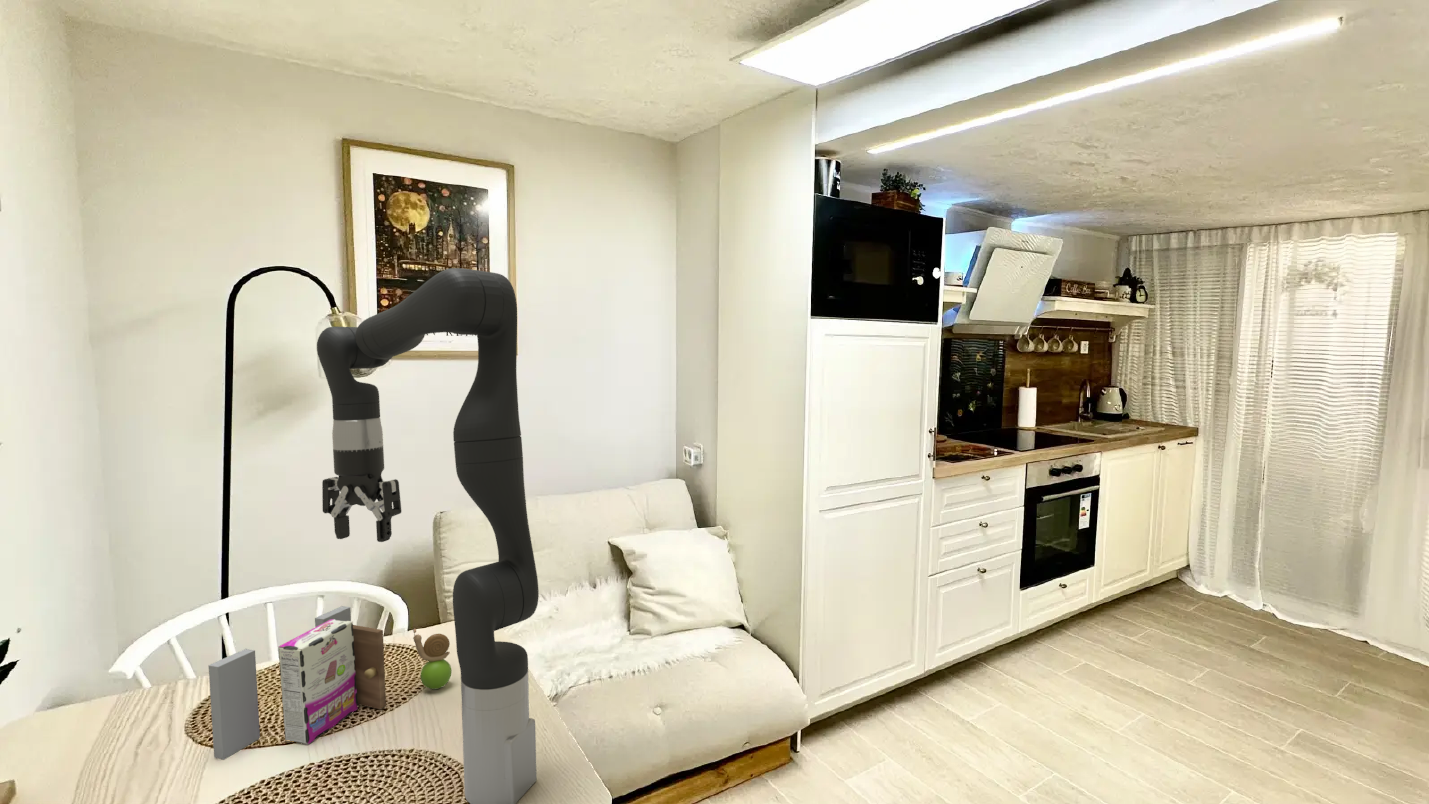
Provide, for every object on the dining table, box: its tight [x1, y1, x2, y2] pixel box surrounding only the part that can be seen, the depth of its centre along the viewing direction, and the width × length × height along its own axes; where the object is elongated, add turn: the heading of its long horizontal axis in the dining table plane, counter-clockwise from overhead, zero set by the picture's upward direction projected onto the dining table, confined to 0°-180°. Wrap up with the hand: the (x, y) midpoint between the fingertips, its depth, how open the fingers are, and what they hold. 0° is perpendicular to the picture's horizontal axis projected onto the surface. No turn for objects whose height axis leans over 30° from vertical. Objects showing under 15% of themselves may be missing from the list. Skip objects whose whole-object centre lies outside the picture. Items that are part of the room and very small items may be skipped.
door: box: [353, 624, 387, 710], centre depth 119 cm, size 2×12×14 cm, turn 71°
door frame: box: [208, 605, 352, 761], centre depth 115 cm, size 2×25×15 cm, turn 163°
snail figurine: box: [412, 628, 452, 690], centre depth 125 cm, size 5×6×12 cm
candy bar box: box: [278, 619, 359, 745], centre depth 112 cm, size 11×5×16 cm, turn 167°
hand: (363, 539), depth 113 cm, fingers open, 8 cm apart
